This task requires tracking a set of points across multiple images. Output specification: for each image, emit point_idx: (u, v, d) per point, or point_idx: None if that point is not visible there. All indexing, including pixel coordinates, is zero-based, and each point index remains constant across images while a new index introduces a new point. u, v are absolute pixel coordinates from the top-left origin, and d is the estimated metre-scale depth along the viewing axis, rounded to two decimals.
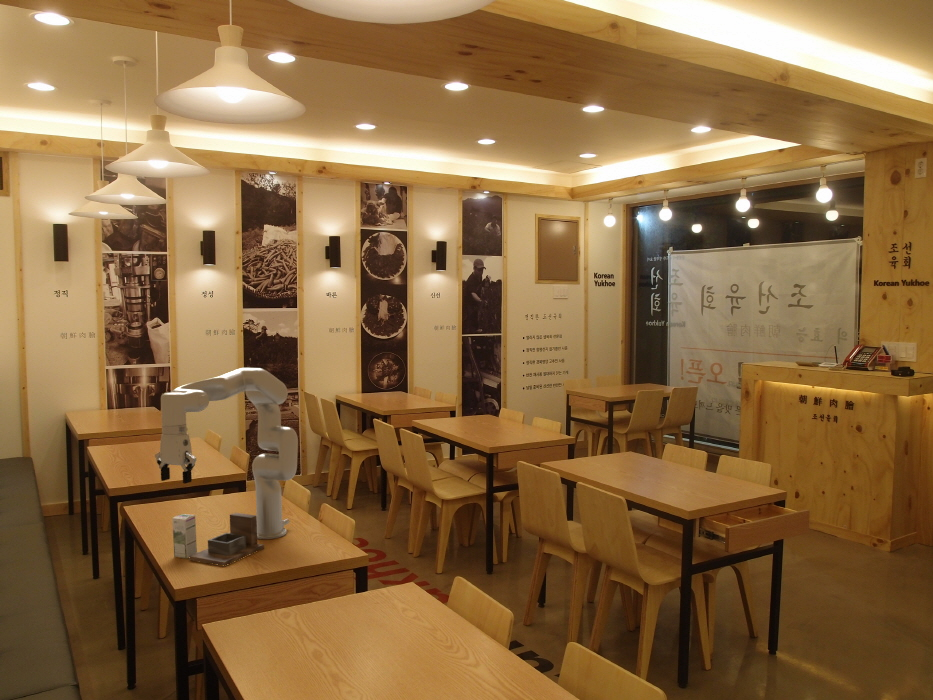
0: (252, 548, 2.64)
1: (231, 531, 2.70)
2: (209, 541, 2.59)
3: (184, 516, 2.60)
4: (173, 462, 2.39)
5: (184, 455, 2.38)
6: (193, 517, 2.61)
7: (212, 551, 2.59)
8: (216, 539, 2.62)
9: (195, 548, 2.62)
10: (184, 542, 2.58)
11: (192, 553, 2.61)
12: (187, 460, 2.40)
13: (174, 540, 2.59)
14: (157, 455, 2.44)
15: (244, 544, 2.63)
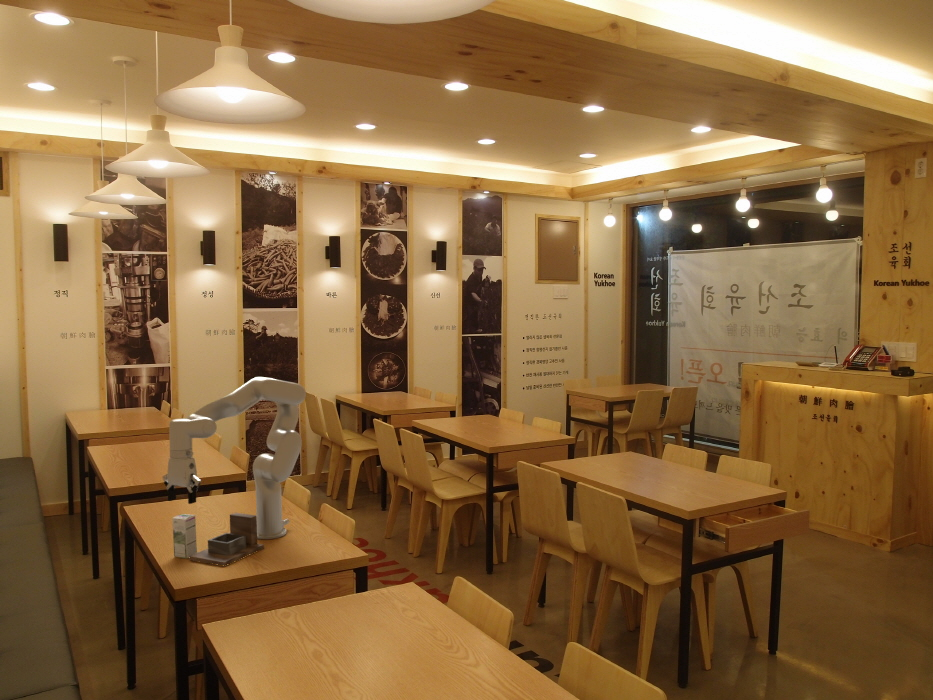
0: (252, 548, 2.64)
1: (231, 531, 2.70)
2: (209, 541, 2.59)
3: (184, 516, 2.60)
4: (179, 484, 2.57)
5: (190, 477, 2.56)
6: (193, 517, 2.61)
7: (212, 551, 2.59)
8: (216, 539, 2.62)
9: (195, 548, 2.62)
10: (184, 542, 2.58)
11: (192, 553, 2.61)
12: (192, 482, 2.59)
13: (174, 540, 2.59)
14: (164, 477, 2.62)
15: (244, 544, 2.63)
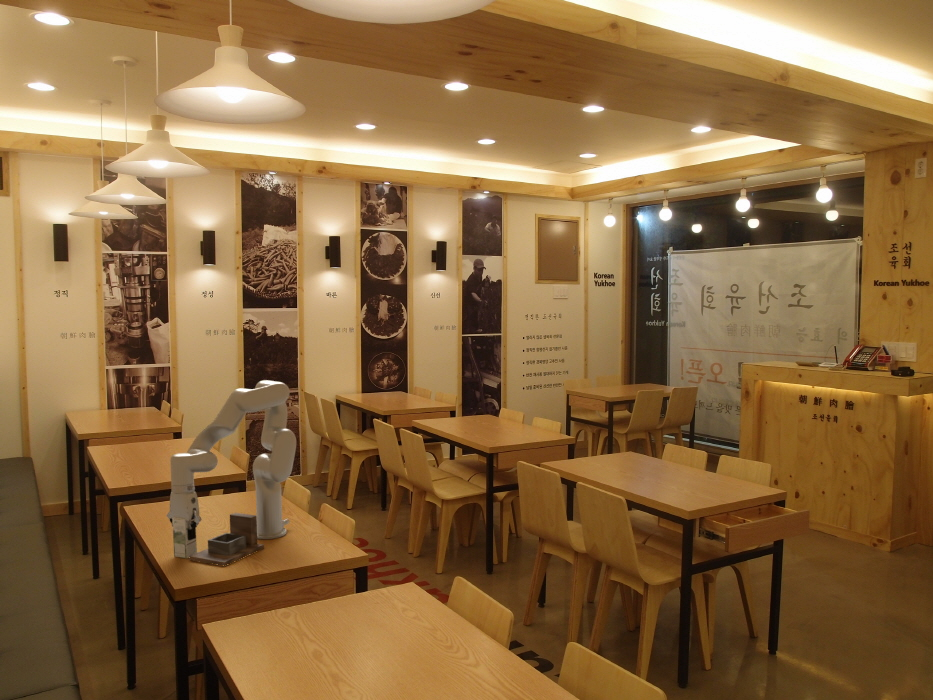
0: (252, 548, 2.64)
1: (231, 531, 2.70)
2: (209, 541, 2.59)
3: None
4: (182, 518, 2.58)
5: (192, 515, 2.57)
6: None
7: (212, 551, 2.59)
8: (216, 539, 2.62)
9: (195, 548, 2.62)
10: (184, 542, 2.58)
11: (192, 553, 2.61)
12: (193, 518, 2.60)
13: (174, 540, 2.59)
14: (169, 514, 2.63)
15: (244, 544, 2.63)
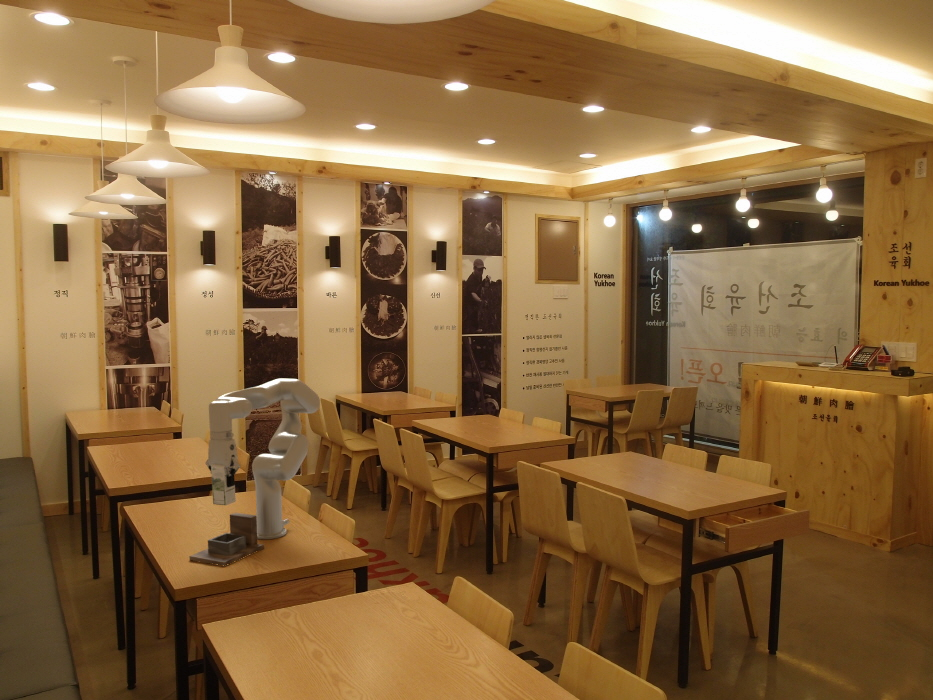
0: (252, 548, 2.64)
1: (231, 531, 2.70)
2: (209, 541, 2.59)
3: None
4: None
5: (231, 461, 2.57)
6: None
7: (212, 551, 2.59)
8: (216, 539, 2.62)
9: (234, 495, 2.62)
10: (223, 489, 2.57)
11: (231, 500, 2.60)
12: (232, 465, 2.60)
13: (213, 487, 2.59)
14: (207, 462, 2.63)
15: (244, 544, 2.63)
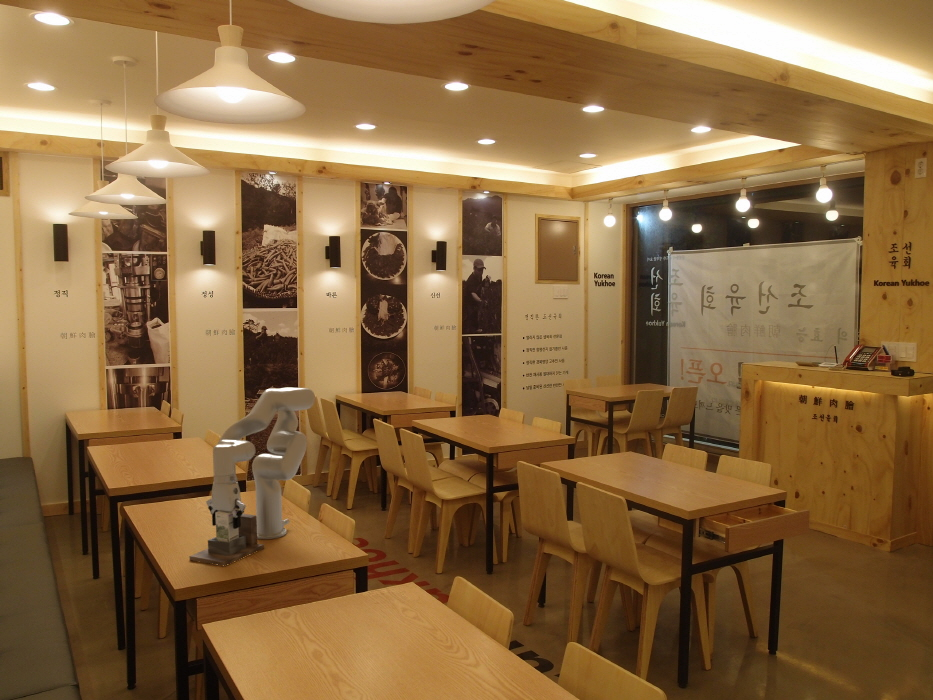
0: (252, 548, 2.64)
1: None
2: (209, 541, 2.59)
3: None
4: (224, 509, 2.59)
5: (234, 502, 2.58)
6: (236, 512, 2.62)
7: (212, 551, 2.59)
8: (216, 539, 2.62)
9: None
10: (227, 536, 2.58)
11: None
12: (237, 507, 2.60)
13: (217, 534, 2.60)
14: (208, 501, 2.64)
15: (244, 544, 2.63)
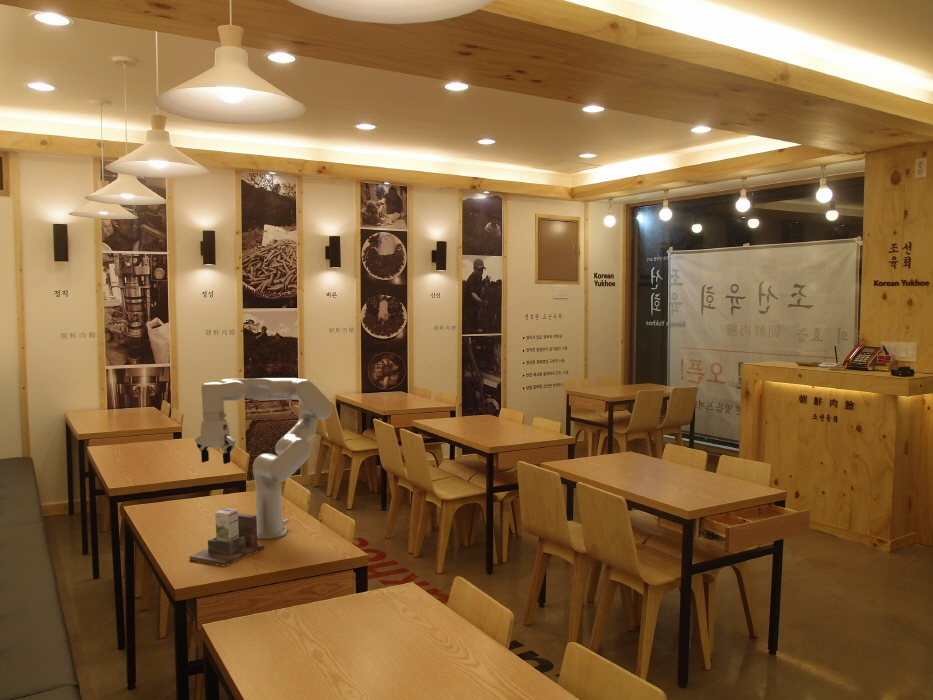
0: (252, 548, 2.64)
1: None
2: (209, 541, 2.59)
3: (227, 510, 2.61)
4: (214, 445, 2.65)
5: (224, 438, 2.65)
6: (236, 512, 2.62)
7: (212, 551, 2.59)
8: (216, 539, 2.62)
9: None
10: (227, 536, 2.58)
11: None
12: (226, 443, 2.67)
13: (217, 534, 2.60)
14: (197, 439, 2.70)
15: (244, 544, 2.63)
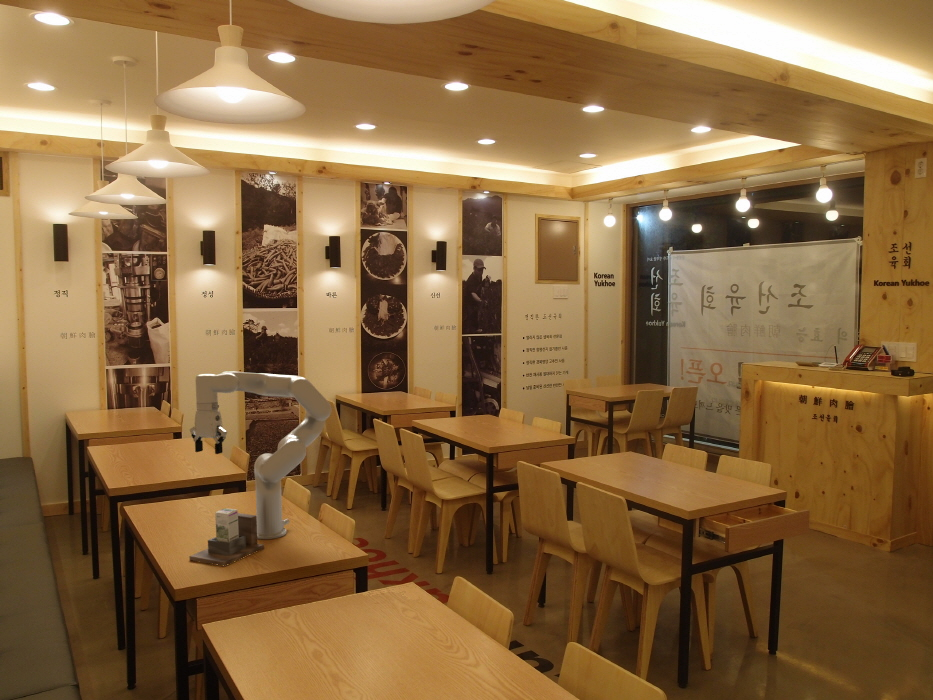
0: (252, 548, 2.64)
1: None
2: (209, 541, 2.59)
3: (227, 510, 2.61)
4: (206, 435, 2.71)
5: (216, 429, 2.70)
6: (236, 512, 2.62)
7: (212, 551, 2.59)
8: None
9: None
10: (227, 536, 2.58)
11: None
12: (218, 433, 2.72)
13: (217, 534, 2.60)
14: (191, 429, 2.76)
15: (244, 544, 2.63)
